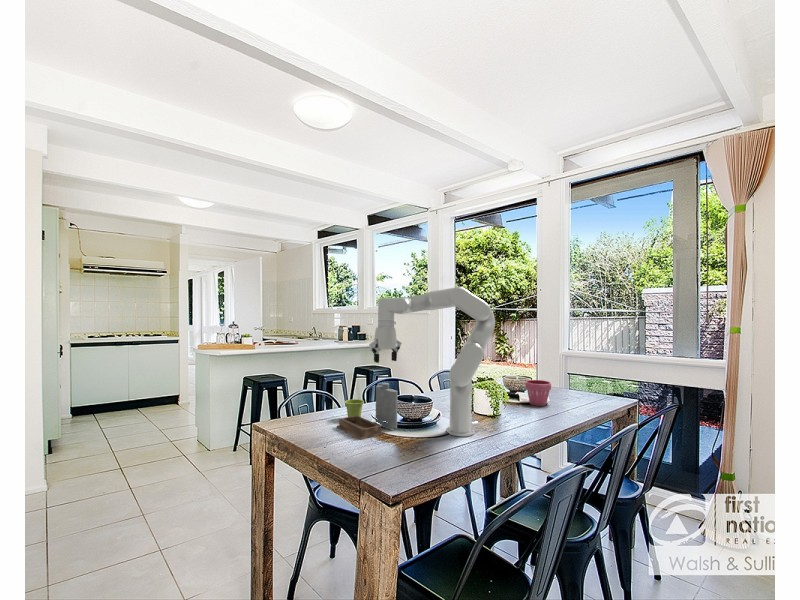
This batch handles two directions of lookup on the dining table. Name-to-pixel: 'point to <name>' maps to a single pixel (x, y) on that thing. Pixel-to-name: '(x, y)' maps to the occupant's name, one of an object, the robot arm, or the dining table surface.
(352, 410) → the plant pot
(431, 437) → the dining table surface
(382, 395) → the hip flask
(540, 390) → the plant pot
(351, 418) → the walnut stand
